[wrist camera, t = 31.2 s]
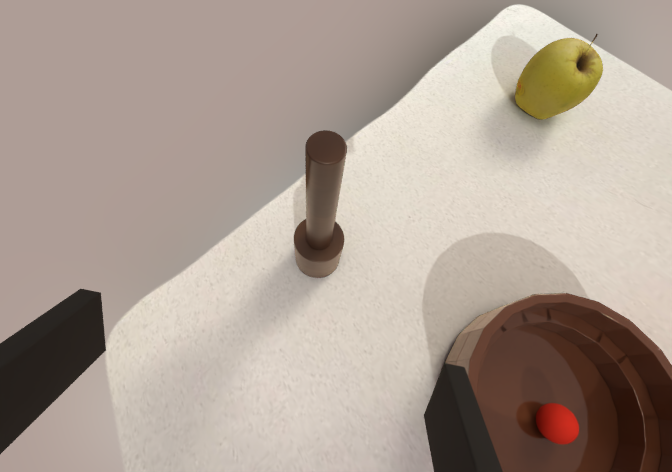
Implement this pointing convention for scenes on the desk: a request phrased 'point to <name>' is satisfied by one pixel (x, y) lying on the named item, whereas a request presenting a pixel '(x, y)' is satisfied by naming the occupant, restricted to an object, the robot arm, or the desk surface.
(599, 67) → the apple
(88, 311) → the robot arm
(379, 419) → the desk surface
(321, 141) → the brown pestle
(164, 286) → the desk surface
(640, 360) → the bowl
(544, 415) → the red ball
